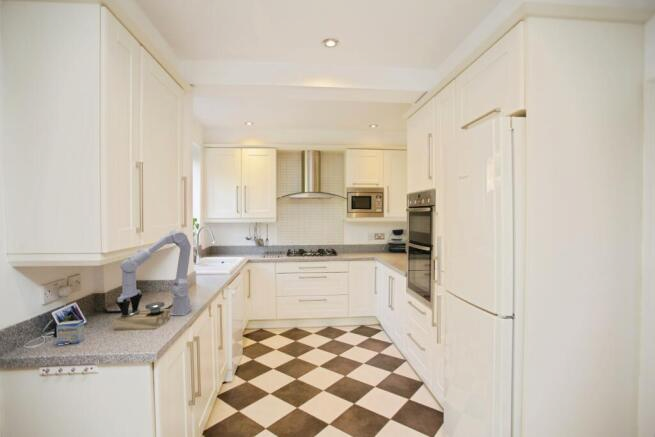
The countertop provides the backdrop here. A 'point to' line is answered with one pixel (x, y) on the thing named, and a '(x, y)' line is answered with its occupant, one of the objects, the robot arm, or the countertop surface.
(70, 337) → the medicine box
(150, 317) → the block
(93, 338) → the countertop surface
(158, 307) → the peg
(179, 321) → the countertop surface
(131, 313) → the peg
